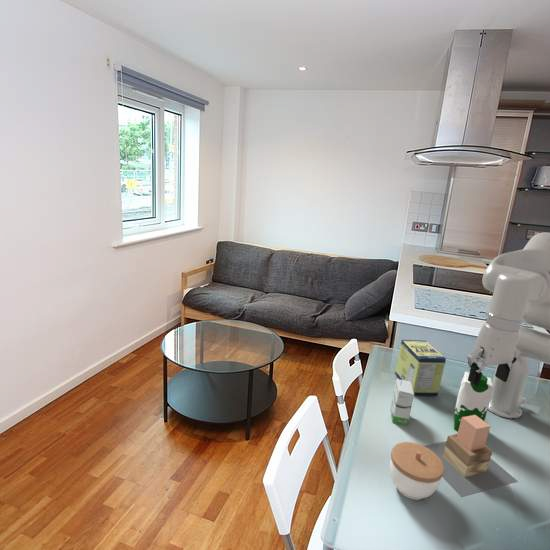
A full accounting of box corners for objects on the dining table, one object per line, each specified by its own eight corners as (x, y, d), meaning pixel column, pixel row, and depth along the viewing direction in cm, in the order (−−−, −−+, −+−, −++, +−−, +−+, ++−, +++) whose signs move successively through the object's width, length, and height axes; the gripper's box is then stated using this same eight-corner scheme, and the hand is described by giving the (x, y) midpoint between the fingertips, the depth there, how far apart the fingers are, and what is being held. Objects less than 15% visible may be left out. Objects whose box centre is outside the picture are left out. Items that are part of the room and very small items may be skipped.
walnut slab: (466, 441, 112) (469, 431, 111) (489, 461, 105) (492, 450, 104) (445, 446, 110) (447, 435, 109) (467, 466, 102) (470, 455, 101)
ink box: (407, 426, 123) (415, 394, 120) (392, 423, 124) (398, 391, 120) (404, 411, 131) (411, 380, 128) (389, 408, 132) (396, 377, 129)
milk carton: (450, 431, 123) (465, 376, 117) (451, 416, 131) (464, 363, 125) (481, 441, 119) (497, 384, 114) (479, 425, 127) (494, 371, 122)
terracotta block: (469, 435, 110) (475, 414, 108) (484, 447, 105) (490, 426, 103) (456, 438, 108) (461, 417, 106) (470, 450, 103) (476, 428, 101)
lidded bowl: (431, 518, 90) (441, 480, 87) (379, 491, 96) (386, 455, 93) (440, 484, 101) (449, 449, 98) (392, 462, 107) (400, 429, 104)
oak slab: (463, 451, 113) (466, 441, 112) (486, 471, 106) (489, 461, 105) (442, 456, 111) (445, 446, 110) (464, 477, 103) (467, 466, 102)
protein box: (417, 374, 157) (425, 339, 153) (438, 396, 142) (447, 358, 138) (394, 374, 155) (401, 339, 151) (412, 396, 140) (420, 358, 136)
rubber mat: (465, 438, 120) (466, 437, 120) (517, 482, 104) (518, 481, 104) (414, 448, 113) (414, 447, 113) (461, 498, 97) (461, 496, 97)
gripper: (514, 314, 103) (498, 370, 108) (465, 318, 97) (451, 377, 102) (541, 325, 96) (523, 385, 101) (490, 330, 90) (473, 393, 95)
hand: (487, 381), depth 101 cm, fingers open, 9 cm apart
